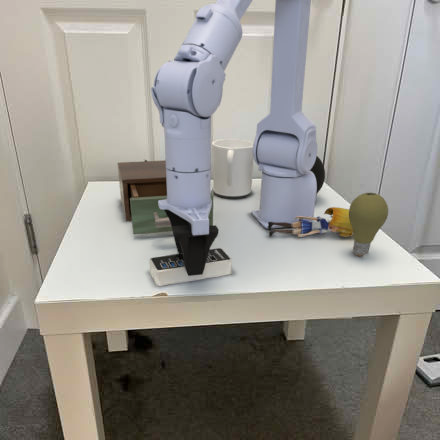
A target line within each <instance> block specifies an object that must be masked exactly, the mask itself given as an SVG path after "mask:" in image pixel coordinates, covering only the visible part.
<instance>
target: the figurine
mask: <svg viewBox="0 0 440 440" xmlns="http://www.w3.org/2000/svg"><path fill="white" fill-rule="evenodd" d="M323 215H329V218H331V220H328V219H326V218H324V217H321V216H316V217H314V216H313V217H307V216H297V217H296V218H295V220H296V219H297V218H300V219H299V220H298V222H294V223H286V222H268V229H267V230H268V231H269V234H268V236H269V237H272V236H273V235H274V234H275V233H281V234H287V235H290V234H291V235H292V234H293V235H296V236H297V237H298V238H303V237H306V236H310V235H314V234H316V233H317V234H318V235H321V234H324V233H327V232H328V231H331V232H332V233H338V235H339V236H340V237H344V238H346V237H347V238H349V237H351V238H353V229H352V226H351V223H350V219H349V208H343V207H335V206H334V207H333V206H332V207H328V208H327V209H326V210H325V211H324V213H323ZM304 218H305V219H309V220H313V221H314V222H313V221H311V222H309V221H306V220H302V219H304ZM273 225H278V226H283V227H282V228H288V229H272V228H271V227H272V226H273Z"/></svg>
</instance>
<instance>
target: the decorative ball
mask: <svg viewBox="0 0 440 440" xmlns="http://www.w3.org/2000/svg"><path fill="white" fill-rule="evenodd" d="M309 171H311V172H313V174H314V175H315V178H316V182H317V193H316V195H317V194H318V193H319V192H320V191H321V190H322V188H323V185H324V183H325V181H326V180H325V179H326V170H325V166H324V163H323V161H322V160H321V158H320V157H319V156H318V155H317V156H316V160H315V163H314V165H313V167H312V168H311V169H310V170H309Z"/></svg>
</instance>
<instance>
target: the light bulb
mask: <svg viewBox="0 0 440 440" xmlns="http://www.w3.org/2000/svg"><path fill="white" fill-rule="evenodd" d="M349 205H350V206H349V208H348V209H349V219H350V223H351V226H352V229H353V233H352V236H353V237H352V238H353V241H354V242H353V247H352V252H353V253H354V254H355V255H356V256H357V257H362V258H363V257H364V256H366V255H368V254H369V252H370V247H371V243H372V242H373V241H374V239H375V237H376V235H377V233H378V232H379V230H380V229H381V228H382V227H383V226H384V224H385V223H386V221H387V219H388V216H389V206H388V204H387V200H385V198H384V197H382V196H381V195H380V194H378V193H375V192H364V193H361V194H359V195H357V196H356V197H355V198H354V199H353V200H352V202H351V203H350V204H349Z"/></svg>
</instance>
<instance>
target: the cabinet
mask: <svg viewBox="0 0 440 440" xmlns="http://www.w3.org/2000/svg"><path fill="white" fill-rule="evenodd" d="M117 172H118V183H119V194H120V202H121V206H122V210H123V215H124V218H125V221H126V222H132V216H131V204H130V198H131V197H130V185H129V184H131V183H148V182H166V159H165V160H147V161H145V160H144V161H123V162H117Z"/></svg>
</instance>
